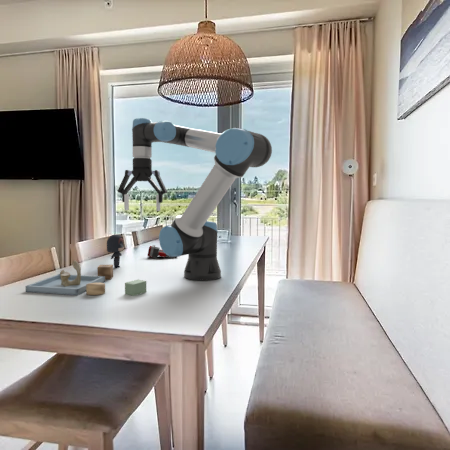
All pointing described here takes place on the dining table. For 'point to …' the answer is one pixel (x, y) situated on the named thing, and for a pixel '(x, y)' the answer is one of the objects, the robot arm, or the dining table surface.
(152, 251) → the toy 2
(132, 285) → the green painted block
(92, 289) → the oak disc
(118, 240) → the toy
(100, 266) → the walnut cube
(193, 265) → the robot arm
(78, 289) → the tray
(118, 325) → the dining table surface
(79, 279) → the beige curved figurine
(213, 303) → the dining table surface
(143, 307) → the dining table surface
